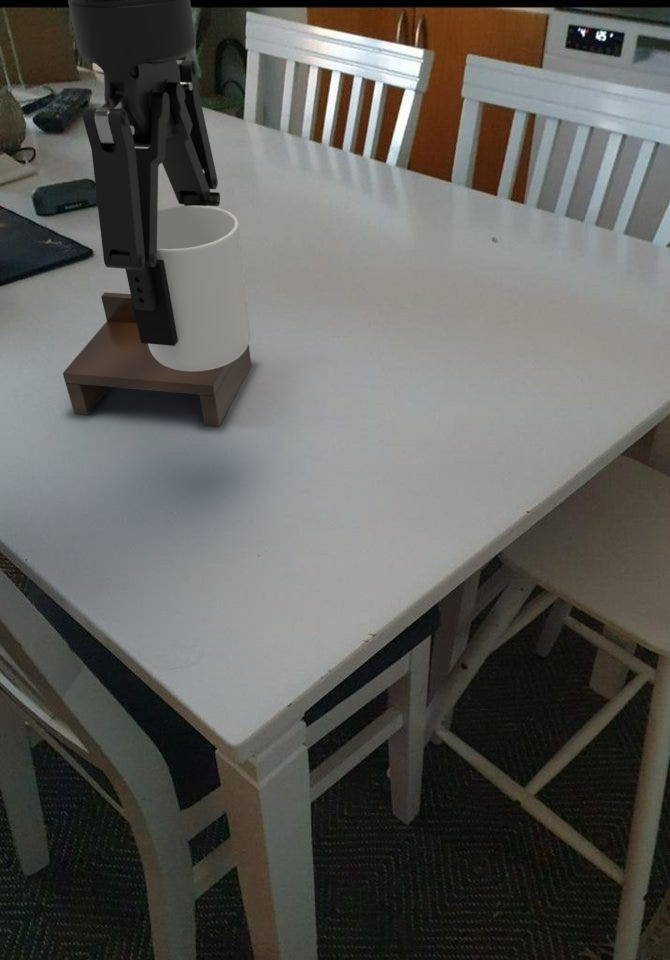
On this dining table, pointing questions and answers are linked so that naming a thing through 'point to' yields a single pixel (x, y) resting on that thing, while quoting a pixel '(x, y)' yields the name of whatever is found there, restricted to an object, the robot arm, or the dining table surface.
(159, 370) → the shelf
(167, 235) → the cup
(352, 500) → the dining table surface
